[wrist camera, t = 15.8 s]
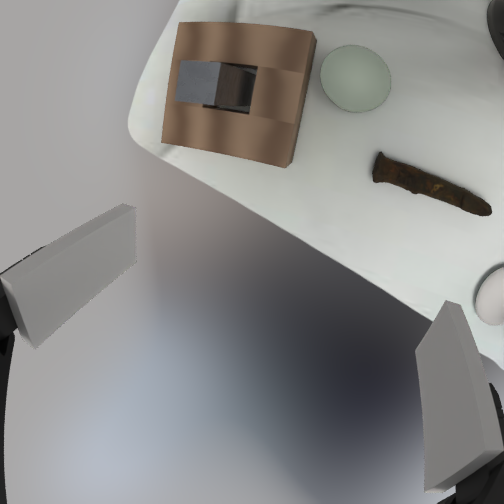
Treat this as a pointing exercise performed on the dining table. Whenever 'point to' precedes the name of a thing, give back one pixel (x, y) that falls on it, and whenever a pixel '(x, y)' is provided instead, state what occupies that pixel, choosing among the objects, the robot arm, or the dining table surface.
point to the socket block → (264, 94)
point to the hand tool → (427, 185)
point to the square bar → (214, 84)
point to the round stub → (355, 78)
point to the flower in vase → (491, 299)
